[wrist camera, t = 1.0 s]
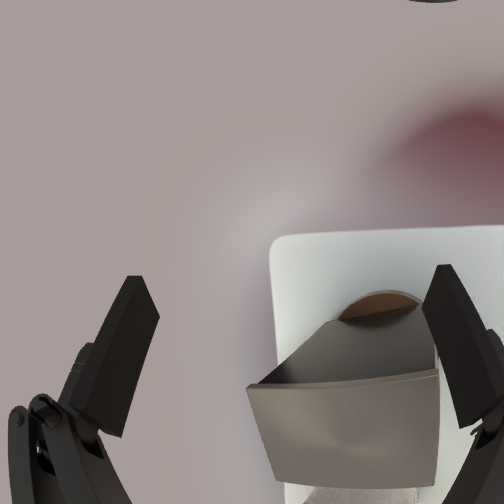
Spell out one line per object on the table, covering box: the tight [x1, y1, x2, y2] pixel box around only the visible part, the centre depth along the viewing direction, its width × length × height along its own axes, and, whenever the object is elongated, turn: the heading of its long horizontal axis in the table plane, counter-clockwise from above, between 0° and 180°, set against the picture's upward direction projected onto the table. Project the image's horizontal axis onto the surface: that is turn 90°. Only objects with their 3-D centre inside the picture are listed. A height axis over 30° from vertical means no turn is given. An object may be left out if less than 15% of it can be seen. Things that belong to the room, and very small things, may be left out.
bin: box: [246, 303, 440, 489], centre depth 22 cm, size 9×14×16 cm, turn 108°
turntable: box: [338, 290, 439, 359], centre depth 29 cm, size 13×13×2 cm
